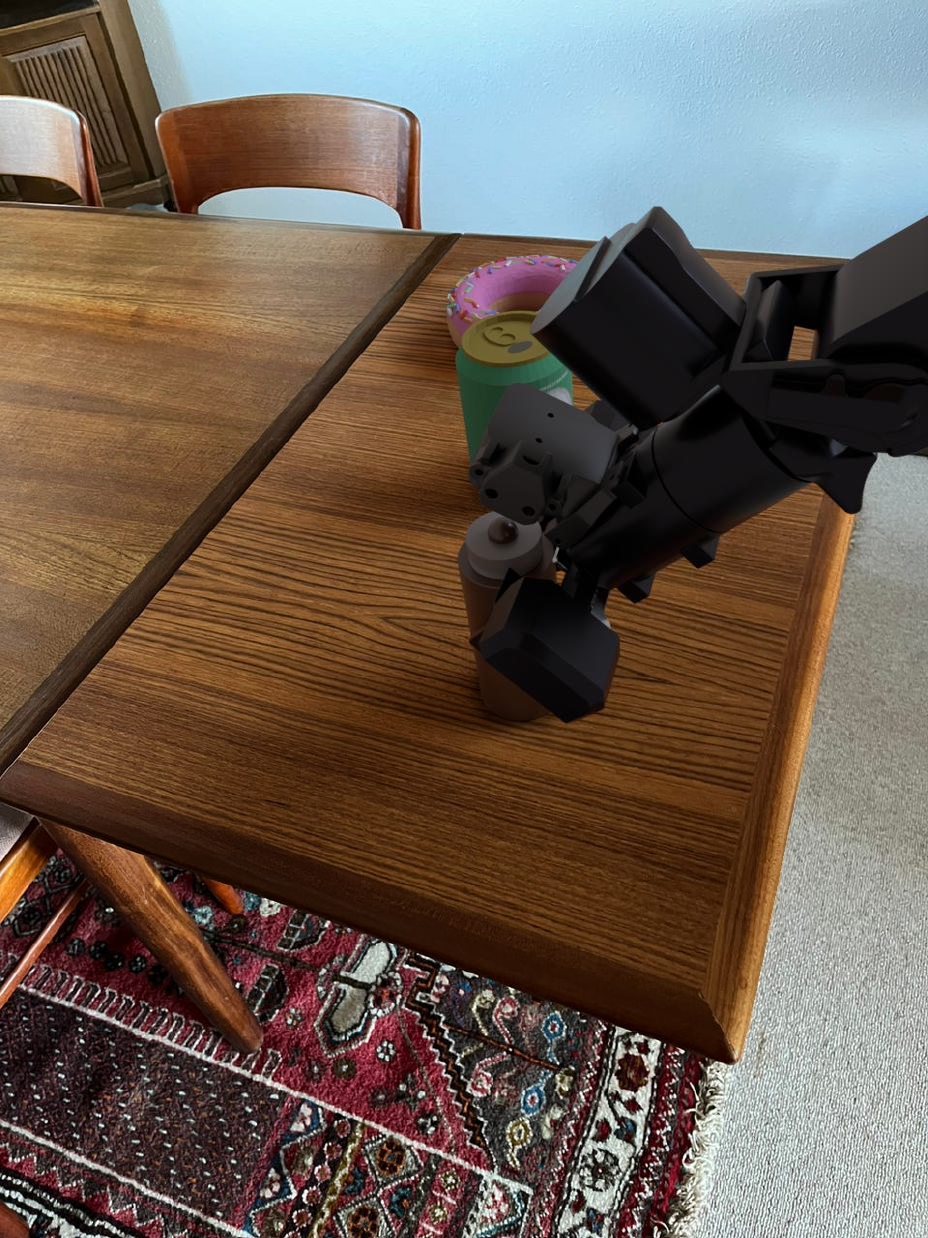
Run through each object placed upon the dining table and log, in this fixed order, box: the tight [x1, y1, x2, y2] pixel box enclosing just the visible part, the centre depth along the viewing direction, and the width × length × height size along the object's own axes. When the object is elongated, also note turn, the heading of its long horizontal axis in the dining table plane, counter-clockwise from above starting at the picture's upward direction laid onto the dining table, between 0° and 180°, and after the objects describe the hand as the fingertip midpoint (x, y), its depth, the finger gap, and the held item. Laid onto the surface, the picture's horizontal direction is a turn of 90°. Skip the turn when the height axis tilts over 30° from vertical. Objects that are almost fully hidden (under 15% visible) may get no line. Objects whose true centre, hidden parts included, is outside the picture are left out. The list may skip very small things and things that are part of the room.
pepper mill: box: [457, 511, 558, 722], centre depth 53 cm, size 5×5×14 cm
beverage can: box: [454, 311, 574, 466], centre depth 68 cm, size 8×8×12 cm
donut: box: [445, 254, 579, 349], centre depth 85 cm, size 14×14×5 cm
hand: (490, 610), depth 53 cm, fingers closed on pepper mill, 5 cm apart
